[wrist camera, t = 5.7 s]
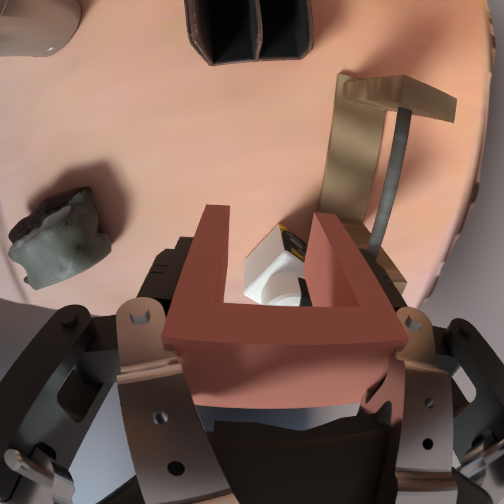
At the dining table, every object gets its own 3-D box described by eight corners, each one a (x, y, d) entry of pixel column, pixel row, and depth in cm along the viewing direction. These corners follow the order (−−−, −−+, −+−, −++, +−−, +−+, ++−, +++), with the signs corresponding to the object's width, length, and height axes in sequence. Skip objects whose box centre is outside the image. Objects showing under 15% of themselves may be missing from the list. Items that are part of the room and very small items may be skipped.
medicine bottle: (319, 252, 36) (343, 315, 25) (283, 286, 39) (293, 353, 28) (279, 221, 33) (292, 279, 23) (243, 260, 36) (241, 326, 26)
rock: (93, 166, 29) (58, 187, 22) (131, 239, 35) (107, 273, 28) (22, 217, 32) (-7, 241, 26) (55, 272, 38) (31, 301, 31)
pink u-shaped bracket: (206, 204, 11) (160, 336, 5) (335, 214, 12) (409, 339, 5) (206, 264, 13) (178, 402, 7) (322, 270, 13) (365, 401, 7)
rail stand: (337, 74, 24) (399, 59, 12) (384, 87, 24) (462, 89, 12) (312, 234, 34) (343, 308, 22) (355, 237, 35) (399, 308, 23)
